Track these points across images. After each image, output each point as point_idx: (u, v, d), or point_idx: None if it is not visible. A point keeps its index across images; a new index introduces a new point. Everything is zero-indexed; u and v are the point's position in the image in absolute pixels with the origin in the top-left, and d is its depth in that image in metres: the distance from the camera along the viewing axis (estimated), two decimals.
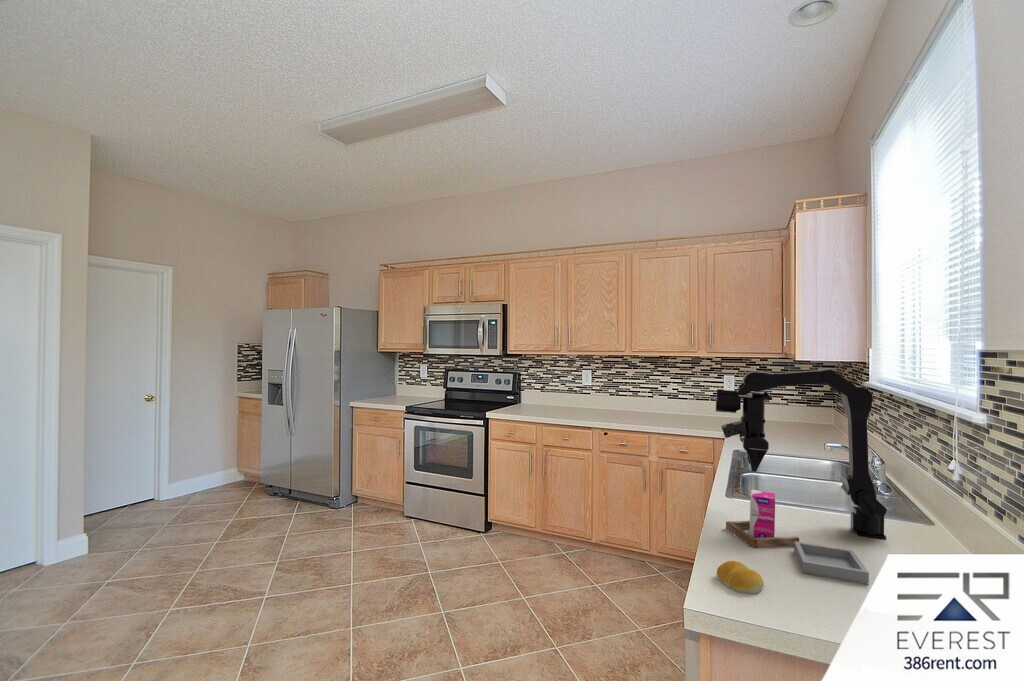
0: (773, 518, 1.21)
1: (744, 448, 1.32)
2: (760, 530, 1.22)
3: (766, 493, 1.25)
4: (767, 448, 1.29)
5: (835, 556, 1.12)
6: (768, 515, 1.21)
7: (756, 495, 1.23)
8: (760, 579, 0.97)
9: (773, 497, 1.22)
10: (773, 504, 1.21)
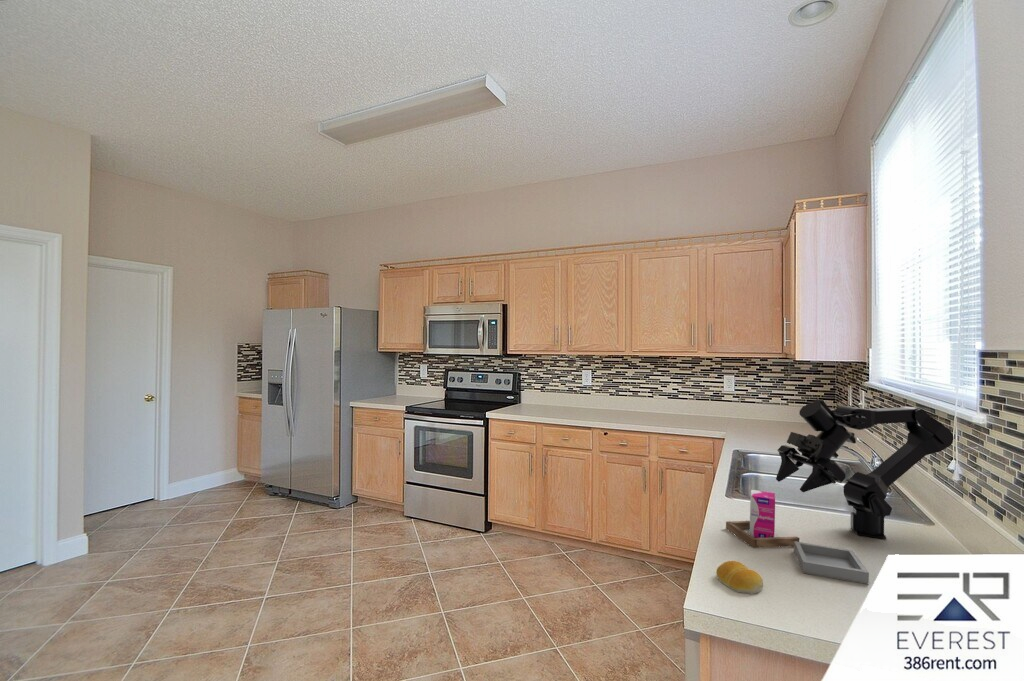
0: (773, 518, 1.21)
1: (821, 467, 1.18)
2: (760, 530, 1.22)
3: (766, 493, 1.25)
4: (841, 481, 1.17)
5: (835, 556, 1.12)
6: (768, 515, 1.21)
7: (756, 495, 1.23)
8: (760, 579, 0.97)
9: (773, 497, 1.22)
10: (773, 504, 1.21)
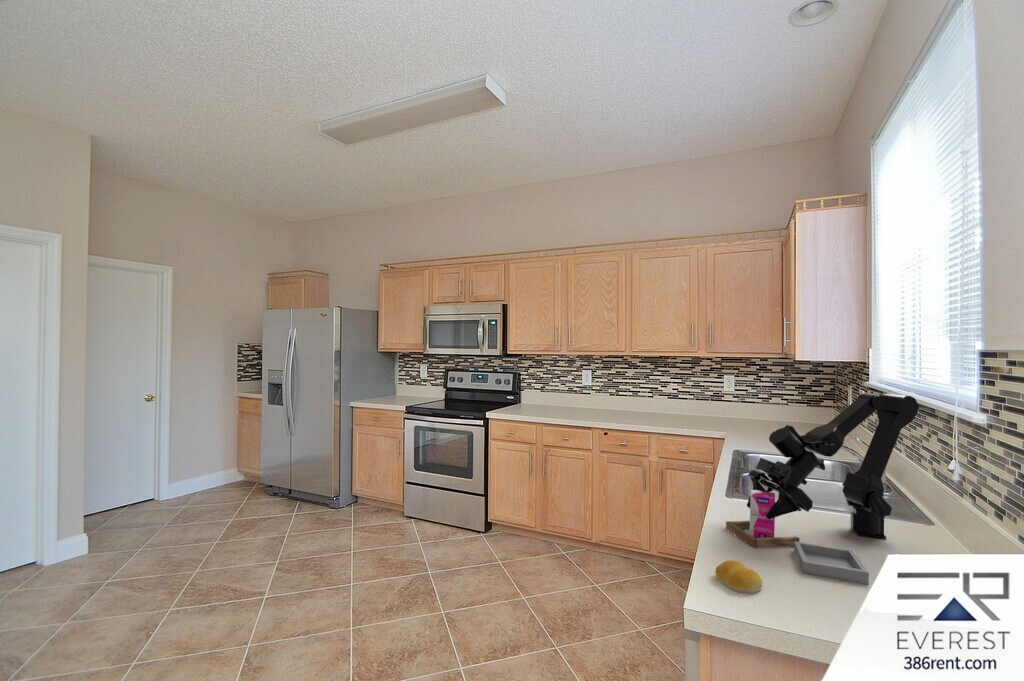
0: (773, 518, 1.21)
1: (787, 494, 1.17)
2: (760, 530, 1.22)
3: (766, 493, 1.25)
4: (808, 510, 1.16)
5: (835, 556, 1.12)
6: None
7: (756, 495, 1.23)
8: (759, 579, 0.97)
9: (773, 497, 1.22)
10: (773, 504, 1.21)
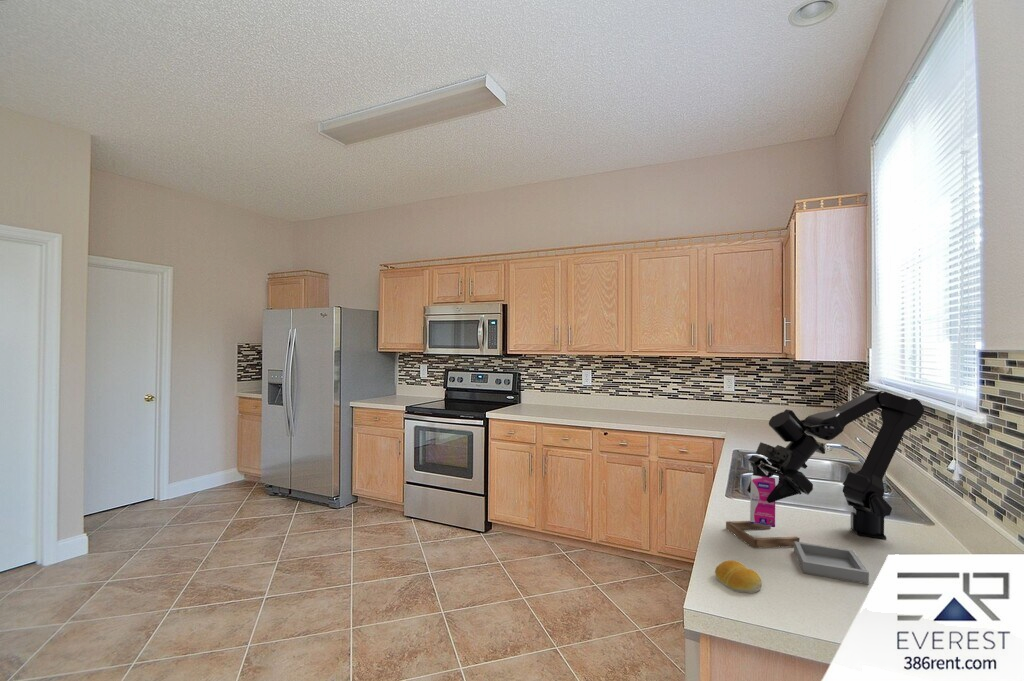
0: (774, 502, 1.21)
1: (787, 478, 1.18)
2: (761, 515, 1.22)
3: (766, 478, 1.25)
4: (809, 493, 1.16)
5: (835, 556, 1.12)
6: None
7: (756, 480, 1.23)
8: (758, 578, 0.97)
9: (773, 482, 1.22)
10: (773, 488, 1.21)
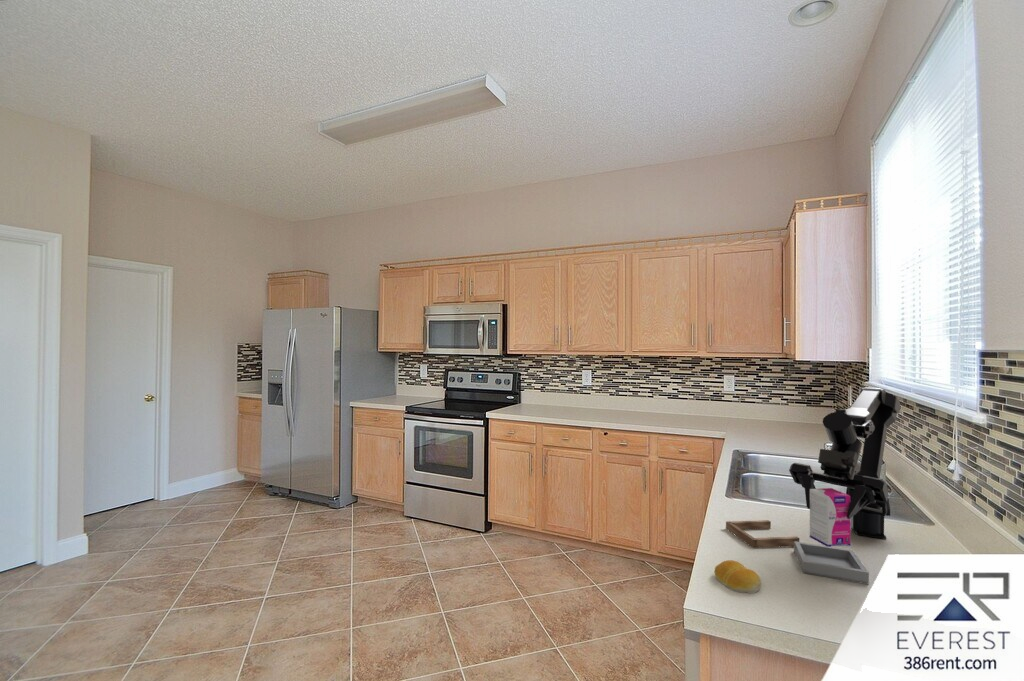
0: None
1: (870, 488, 1.04)
2: (837, 534, 1.06)
3: (830, 490, 1.09)
4: None
5: (835, 556, 1.12)
6: (844, 515, 1.06)
7: (830, 494, 1.06)
8: (757, 578, 0.98)
9: (844, 493, 1.07)
10: (849, 501, 1.06)
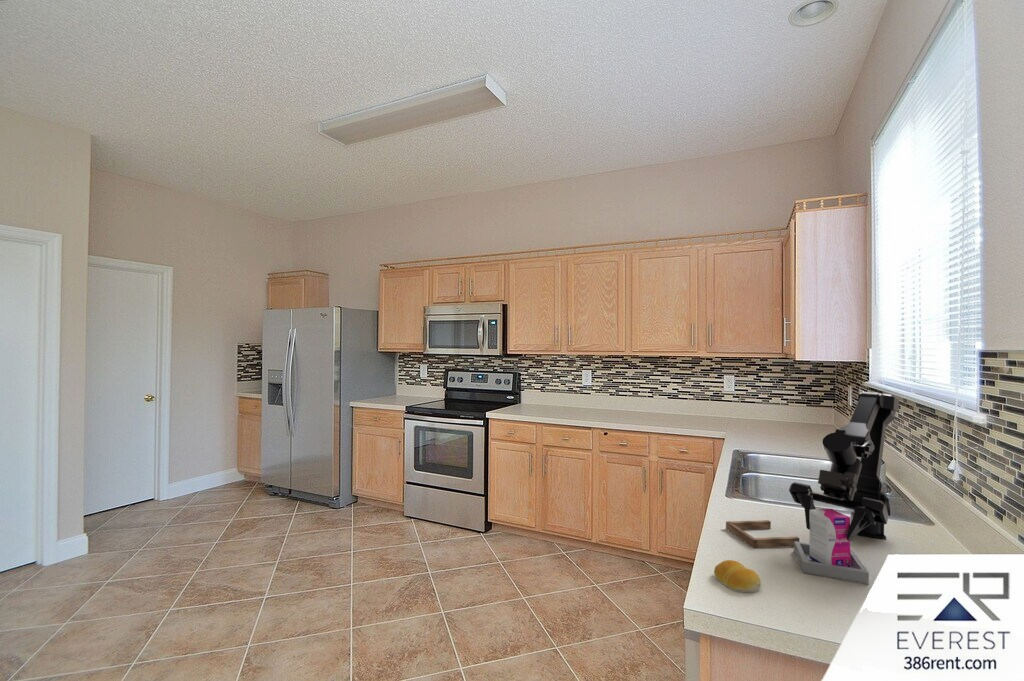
0: None
1: (870, 510, 1.04)
2: (837, 556, 1.06)
3: (830, 511, 1.09)
4: None
5: None
6: (844, 537, 1.06)
7: (830, 516, 1.06)
8: (757, 578, 0.98)
9: (844, 515, 1.07)
10: (849, 523, 1.06)
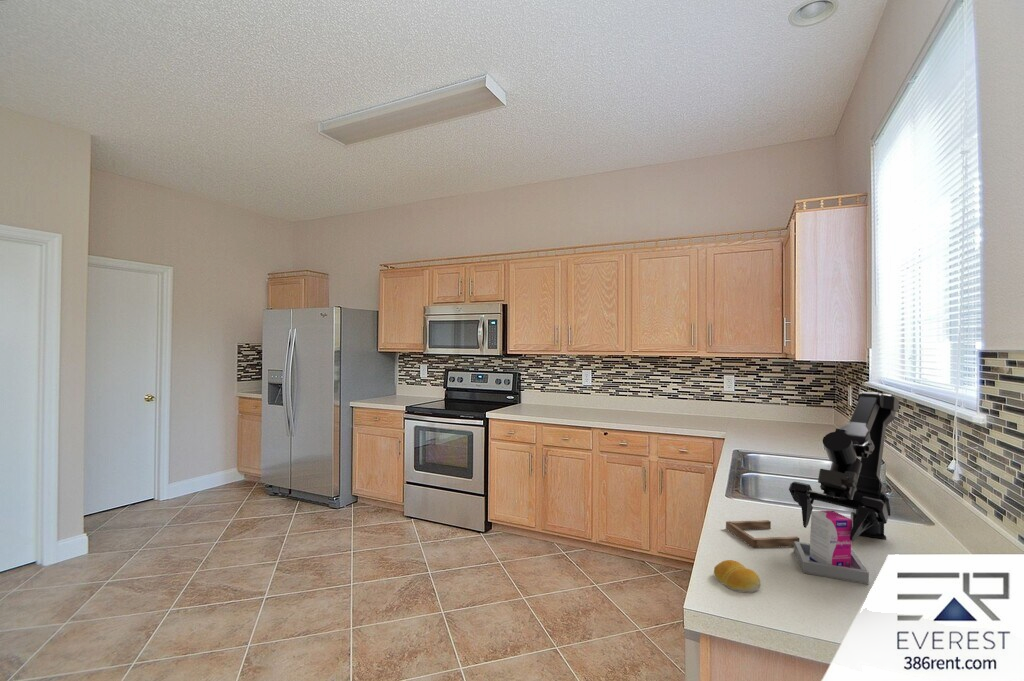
0: (850, 541, 1.06)
1: (873, 510, 1.03)
2: (838, 558, 1.05)
3: (832, 513, 1.09)
4: None
5: None
6: (845, 539, 1.06)
7: (832, 518, 1.06)
8: (757, 578, 0.98)
9: (845, 517, 1.07)
10: (851, 525, 1.06)
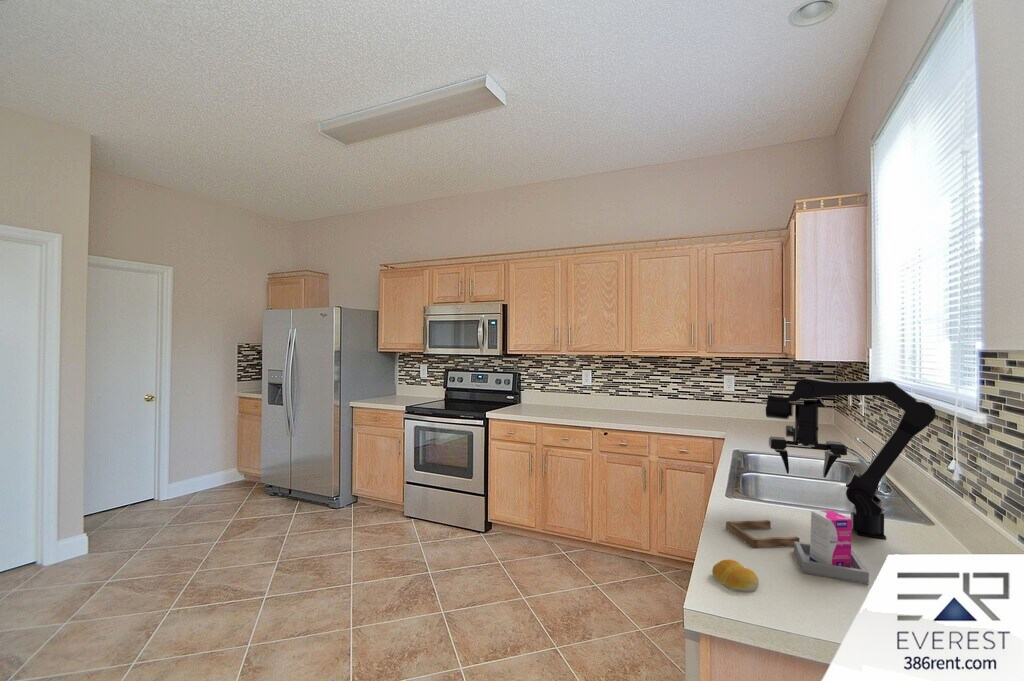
0: (850, 541, 1.06)
1: None
2: (838, 558, 1.05)
3: (832, 513, 1.09)
4: (772, 447, 1.38)
5: None
6: (845, 539, 1.06)
7: (832, 518, 1.06)
8: (755, 577, 0.98)
9: (845, 517, 1.07)
10: (851, 525, 1.06)
